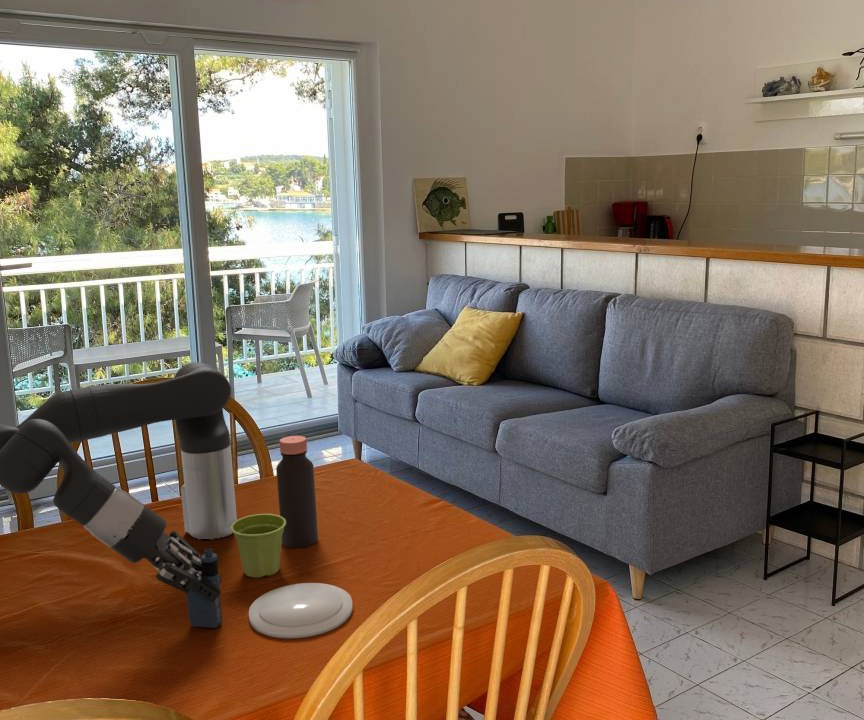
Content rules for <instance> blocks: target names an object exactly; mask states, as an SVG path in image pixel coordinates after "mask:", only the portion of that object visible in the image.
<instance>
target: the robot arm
mask: <svg viewBox="0 0 864 720" xmlns="http://www.w3.org/2000/svg"><path fill="white" fill-rule="evenodd" d="M231 394H232V386H231V384H230V381H229V380H228V379H227V377H226V376H225V375H224V374H223V373H222V372H220V371H219V370H218V369H216V368H214V366H212V365H209V364H207V363H204V362H199V361H196V362H189V363H187V364H184V365H183V366H182V367H181V368H180V369H178V370H177V371H176V373H175V375H174V378H169V379H166V380H162V381H157V382H150V383H138V384H137V383H130V384H129V383H120V384H119V383H116V384H115V383H111V384H97V385H90V386H84V387H80V388H79V387H78V388H73V389H68V390H63V391H60V392H57V393H56V394H54V395H52V396H51V397H50V398H49V399H47V400H46V401H45V402H43V404H41V405H40V406H39V407H38V408H37V409H36V410H34V411H33V412H32V413H31V414H30V415H29V416H28V417H26V418H25V419H24V420H23V421H22V422H21V423H19V424H18V425H16V426H12V425H7V424H4V423H3V424H2V423H0V486H1V487H2V488H4V489H5V490H7V491H9V492H11V493H13V494H17V495H18V494H20V495H22V494H23V495H25V494H27V493H28V494H29V493H30V492H32V491H34V490H35V489H37V488H38V487H39V486H40V484H41V483H42V482H43V481H44V480H45V478H46V477H47V476H48V475H49V474H50V473H51V471H52V470H53V469H54V468H55V466H56V465H57V464H60V466H61V468H62V471H63V478H62V480H61V482H60V485H59V486H58V488H57V490H56V491H55V493H54V496H53V501H52V503H53V504H54V506H55V508H57V509H58V510H59V511H61V512H62V513H63V514H65V515H67V517H69V518H71V519H72V520H74V521H75V522H76V523H78V524H79V525H81V526H82V527H83V528H85V529H86V530H87V531H88V532H89V533H90V534H91V535H92V536H93V537H94V538H96V539H97V540H98V541H100V542H102V543H103V544H104V545H106V546H108V547H109V548H110V549H112V550H113V551H115V552H116V553H117V554H118V555H120V556H122V557H123V558H124V559H126V560H127V561H129V562H130V563H132V564H136V563H138V562H140V561H141V560H143V559H146V560H147V561H148V562H149V563H150V564H151V566H152V567H153V568H154V569H156V571H158V573H156V575H155V577H156V579H157V580H158V581H160V582H162V583H164V584H166V585H168V586H170V587H172V588H175V589H177V590H179V591H181V592H183V593H186V594H187V593H188V592H189V591H190V590H192V589H193V590H195V591H196V592H198V593H199V594H200V595H202V596H203V597H205V598H206V599H207V600H209V601H210V602H213V601H215V600H216V598H217V597H218V596H219V595H220V596H221V594H222V589H221V587H220V588H219V587H217V586H216V585H215V584H213V583H212V582H211V581H209V580H208V579H206V578H205V577H204V576H203V575H201V574H200V573H198V572H197V571H196V570H198V571H201V572H202V563H201V554H200V553H199V552H198V551H197V550H196V549H195V548H194V547H192V546H191V545H190V544H189V543H188V541H186V540H185V539H184V538H183V537H182V536H181V535H180V534H179V533H178V532H177V531H176V530H171V532H170V533H169V534H168V533H167V534H166V533H165V530H166V528H167V521H166V520H165V518H163V517H162V516H160V515H159V514H157V513H156V512H155V511H153V510H152V509H151V508H149V507H148V506H147V505H145V504H144V503H142V502H141V501H139V499H137V498H135V497H134V496H133V495H132V494H130V493H128V492H126V491H124V490H122V489H121V488H119V487H117V486H116V485H115V484H114V483H112V482H110V481H109V480H108V479H106V478H105V477H103V476H102V475H101V474H99V473H98V472H97V471H95V470H94V469H93V468H92V467H91V466H90V465H89V464H88V463H87V462H86V461H85V460H84V459H83V458H82V456H80V454H79V453H78V452H77V450H76V449H75V448H74V447H73V446H72V444H74V443H79V442H83V441H88V440H92V439H93V440H94V439H97V438H98V439H99V438H101V437H105V436H108V435H112V434H116V433H117V434H118V433H122V432H126V431H131V430H134V429H138V428H141V427H144V426H147V425H151V424H152V425H153V424H155V423H163V422H169V421H174V420H175V428H176V433H177V435H178V439H179V443H180V453H181V454H180V456H181V462H182V463H181V464H182V473H183V482H184V483H183V485H181V487H180V495H181V504H182V516H183V526H184V533H185V532H188V533H189V534H190V535H191V536H192V537H194V538H193V539H195V538H197V539H196V540H201V539H210V540H216V539H215V538H217V539H221V537H222V538H224V537H227V536H230V535H232V534H234V533H233V532H232V531H231V525H232V524H233V523H234V522H235V521H237V520H238V519H237V518H238V517H237V506H236V494H235V481H234V472H233V459H232V449H231V438H230V437H231V435H230V431H229V429H228V426H227V422H226V419H225V415H224V408H225V407H226V405H228V402H229V401H230V399H231ZM188 533H187V534H188ZM189 534H188V535H189ZM190 535H189V536H190ZM191 536H190V537H191ZM192 537H191V538H192ZM187 579H188V581H187ZM219 579H220V583H221V582H222V577H221V576H220V575H219Z"/></svg>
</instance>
